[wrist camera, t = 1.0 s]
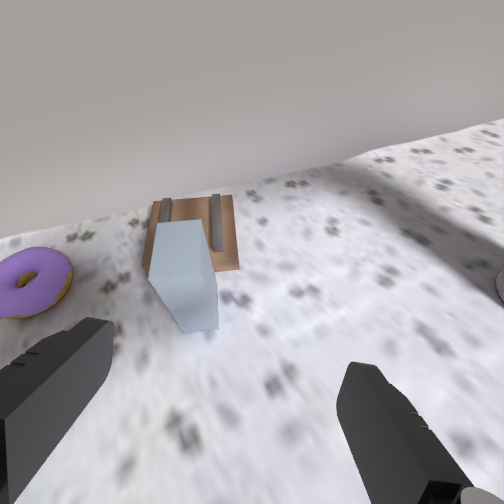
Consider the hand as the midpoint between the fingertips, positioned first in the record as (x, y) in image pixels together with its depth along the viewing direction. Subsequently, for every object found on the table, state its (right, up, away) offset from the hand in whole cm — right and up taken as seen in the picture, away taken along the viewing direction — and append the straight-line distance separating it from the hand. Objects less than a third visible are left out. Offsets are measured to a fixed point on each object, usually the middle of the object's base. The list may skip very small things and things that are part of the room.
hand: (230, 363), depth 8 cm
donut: (-27, -1, +25) cm, 37 cm away
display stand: (-8, +6, +29) cm, 30 cm away
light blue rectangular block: (-5, -3, +22) cm, 23 cm away
